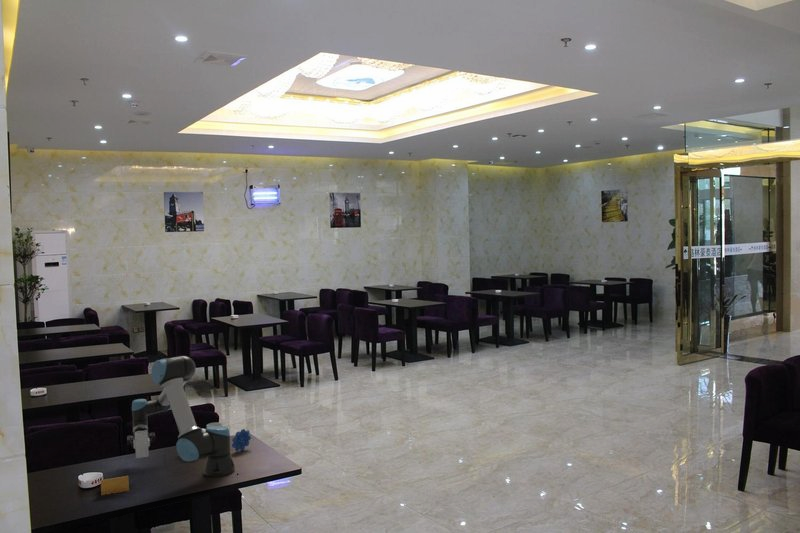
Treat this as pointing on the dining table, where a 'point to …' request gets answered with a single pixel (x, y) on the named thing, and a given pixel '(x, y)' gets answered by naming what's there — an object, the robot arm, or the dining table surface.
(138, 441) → the aluminium block
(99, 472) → the dining table surface
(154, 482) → the dining table surface
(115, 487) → the orange rectangular block
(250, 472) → the dining table surface
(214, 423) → the mug
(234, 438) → the grapes
